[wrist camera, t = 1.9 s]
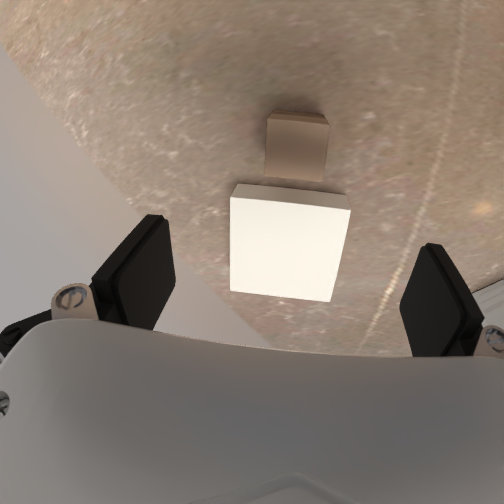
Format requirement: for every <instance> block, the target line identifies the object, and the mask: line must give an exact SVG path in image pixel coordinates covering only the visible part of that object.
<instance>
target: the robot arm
mask: <svg viewBox="0 0 504 504" xmlns="http://www.w3.org/2000/svg"><path fill="white" fill-rule="evenodd" d="M91 279H92V283H91V284H90V285H89V286H87V285H85V284H82V283H74V284H70V285H67V286H65V287H63V288H61V289H60V290H58V291H57V292H56V294H54V296H53V298H52V301H51V309H50V310H48V311H44V312H42V313H39V314H37V315H34V316H31V317H29V318H26V319H24V320H22V321H18V322H16V323H14V324H11V325H9V326H7V327H6V328H5V329H4V330H3V331H2V332H1V334H0V504H504V330H503V329H502V328H500V327H498V326H495V325H487V326H485V327H484V328H483V326H482V322H483V320H484V319H485V317H484V315H483V313H482V311H481V310H480V308H479V306H478V304H477V302H476V300H475V299H474V297H473V295H472V293H471V292H470V290H469V288H468V286H467V285H466V283H465V281H464V280H463V278H462V276H461V275H460V273H459V271H458V270H457V268H456V266H455V265H454V263H453V262H452V260H451V259H450V257H449V255H448V254H447V252H446V251H445V249H444V248H443V246H442V245H440V244H433V243H427V244H426V245H425V246H422V247H421V249H420V252H419V254H418V257H417V260H416V263H415V266H414V268H413V271H412V274H411V276H410V279H409V282H408V284H407V287H406V289H405V292H404V294H403V297H402V299H401V302H400V313H401V316H402V319H403V323H404V326H405V329H406V333H407V336H408V340H409V344H410V347H411V351H412V355H413V357H389V356H361V355H343V354H327V353H313V352H302V351H291V350H281V349H271V348H262V347H254V346H246V345H238V344H230V343H223V342H216V341H209V340H203V339H197V338H191V337H185V336H178V335H173V334H167V333H162V332H157V331H152V330H153V328H154V326H155V324H156V322H157V320H158V318H159V316H160V314H161V312H162V310H163V308H164V306H165V304H166V302H167V301H168V299H169V297H170V295H171V293H172V291H173V289H174V287H175V282H176V277H175V270H174V264H173V256H172V247H171V239H170V230H169V222H168V220H167V219H164V217H163V216H162V215H151V214H148V215H146V216H145V217H144V218H143V220H142V221H141V222H140V223H139V224H138V225H137V226H136V227H135V228H134V229H133V230H132V232H131V233H130V234H129V235H128V236H127V237H126V238H125V239H124V240H123V242H122V243H121V244H120V245H119V246H118V247H117V248H116V250H115V251H114V252H113V253H112V254H111V255H110V257H109V258H108V259H107V260H106V261H105V262H104V263H103V265H102V266H101V267H100V268H99V269H98V271H97V272H96V273H95V274H94V275H93V277H92V278H91Z"/></svg>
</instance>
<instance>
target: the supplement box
mask: <svg viewBox="0 0 504 504" xmlns="http://www.w3.org/2000/svg"><path fill="white" fill-rule="evenodd" d="M472 295H473V297H474V299H475V300H476V302H477V304H478V306H479V308H480V310H481V311H482V313H483V315H484V317H485V319H484V320H483V322H482V326H483V328H484V327H485V326H487V325H495V326H498V327H500V328H502V329H503V330H504V279H503V280H501V281H499V282H497V283H495V284H492V285H490V286H488V287H486V288H484V289H481V290H479V291H477V292H475V293H472Z"/></svg>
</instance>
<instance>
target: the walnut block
mask: <svg viewBox="0 0 504 504" xmlns="http://www.w3.org/2000/svg"><path fill="white" fill-rule="evenodd" d="M329 129H330V124H329V123H328V121H327V120H326V118H325V117H324V115H320V114H312V113H303V112H293V111H282V110H273V112H272V113H271V114H270V116H269V117H268V118H267V132H266V150H265V168H264V176H267V177H278V178H288V179H297V180H306V181H314V182H323V179H324V171H325V163H326V155H327V147H328V138H329Z"/></svg>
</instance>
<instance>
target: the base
mask: <svg viewBox="0 0 504 504" xmlns="http://www.w3.org/2000/svg"><path fill="white" fill-rule="evenodd" d="M350 212H351V209H350V206H349V203H348V200H347V197H346V195H341V194H334V193H326V192H318V191H309V190H301V189H291V188H282V187H272V186H261V185H250V184H237V186H236V188H235V189H234V191H233V193H232V195H231V197H230V290H231V291H238V292H246V293H254V294H262V295H271V296H279V297H288V298H297V299H306V300H316V301H326V302H330V299H331V295H332V291H333V287H334V283H335V279H336V275H337V271H338V267H339V263H340V259H341V254H342V250H343V245H344V241H345V236H346V232H347V227H348V222H349V217H350Z"/></svg>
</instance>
